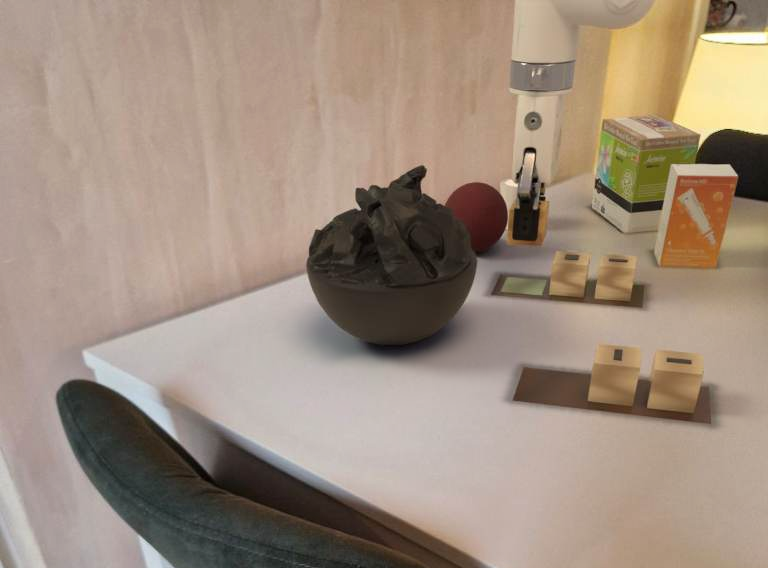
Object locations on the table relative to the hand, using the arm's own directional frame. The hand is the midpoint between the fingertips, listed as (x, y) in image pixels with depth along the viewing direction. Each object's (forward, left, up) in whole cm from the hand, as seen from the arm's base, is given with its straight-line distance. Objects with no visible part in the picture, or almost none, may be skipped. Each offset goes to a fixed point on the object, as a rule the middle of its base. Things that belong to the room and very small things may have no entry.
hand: (527, 231), depth 101 cm
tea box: (+5, -37, -8) cm, 38 cm away
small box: (-11, -24, -8) cm, 28 cm away
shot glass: (+18, -22, -8) cm, 29 cm away
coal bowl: (+3, +23, -8) cm, 25 cm away
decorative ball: (+16, -8, -8) cm, 19 cm away
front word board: (-25, +18, -8) cm, 32 cm away
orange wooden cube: (0, 0, -1) cm, 1 cm away
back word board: (-5, -3, -8) cm, 10 cm away
